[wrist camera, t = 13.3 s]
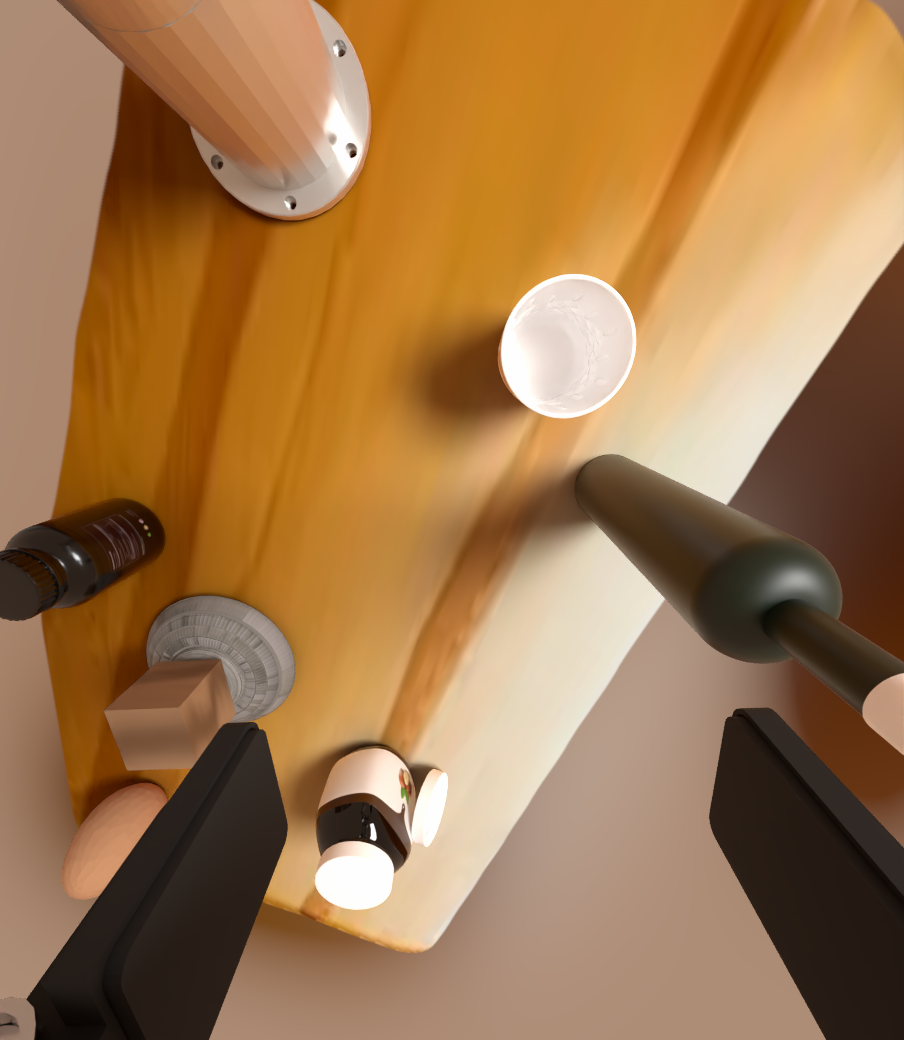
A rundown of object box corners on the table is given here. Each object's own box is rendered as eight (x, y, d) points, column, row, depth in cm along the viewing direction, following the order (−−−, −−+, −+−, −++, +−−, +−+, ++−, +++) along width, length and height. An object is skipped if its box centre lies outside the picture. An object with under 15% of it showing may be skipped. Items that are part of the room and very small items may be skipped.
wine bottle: (630, 443, 36) (1229, 669, 8) (648, 503, 38) (1200, 871, 10) (565, 469, 37) (898, 756, 9) (585, 527, 39) (922, 929, 10)
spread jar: (327, 748, 48) (285, 858, 37) (417, 715, 46) (402, 821, 35) (377, 820, 51) (353, 942, 40) (463, 792, 49) (463, 911, 38)
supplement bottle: (123, 574, 42) (-5, 646, 30) (81, 511, 40) (-73, 564, 28) (183, 551, 41) (74, 617, 29) (142, 485, 39) (9, 529, 27)
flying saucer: (217, 730, 48) (187, 773, 43) (126, 626, 44) (81, 659, 39) (328, 679, 45) (310, 718, 40) (242, 564, 41) (210, 590, 36)
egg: (128, 811, 52) (44, 919, 41) (115, 762, 49) (23, 864, 39) (190, 815, 51) (122, 924, 41) (181, 766, 49) (105, 869, 39)
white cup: (599, 387, 35) (650, 390, 26) (508, 422, 36) (524, 437, 27) (573, 287, 33) (617, 249, 23) (477, 327, 34) (482, 306, 24)
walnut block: (156, 662, 39) (103, 710, 33) (221, 659, 38) (178, 707, 33) (174, 715, 41) (127, 770, 35) (236, 713, 40) (198, 767, 35)
